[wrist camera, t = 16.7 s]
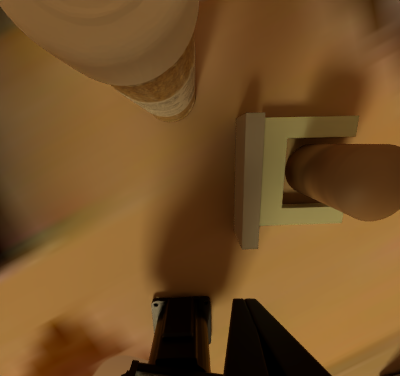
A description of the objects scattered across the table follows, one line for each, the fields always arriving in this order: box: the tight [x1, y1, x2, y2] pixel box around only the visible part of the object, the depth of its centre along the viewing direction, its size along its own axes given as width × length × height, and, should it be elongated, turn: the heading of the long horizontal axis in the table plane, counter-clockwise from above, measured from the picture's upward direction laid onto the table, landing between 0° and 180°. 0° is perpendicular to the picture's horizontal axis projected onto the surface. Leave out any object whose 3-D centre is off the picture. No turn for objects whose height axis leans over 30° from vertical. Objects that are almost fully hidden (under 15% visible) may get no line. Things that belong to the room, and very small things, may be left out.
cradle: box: [259, 116, 359, 226], centre depth 18 cm, size 10×8×1 cm
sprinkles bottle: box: [0, 0, 199, 122], centre depth 10 cm, size 5×5×14 cm
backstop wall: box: [234, 113, 265, 249], centre depth 17 cm, size 11×1×4 cm, turn 1°
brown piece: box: [285, 144, 400, 221], centre depth 15 cm, size 5×5×7 cm
